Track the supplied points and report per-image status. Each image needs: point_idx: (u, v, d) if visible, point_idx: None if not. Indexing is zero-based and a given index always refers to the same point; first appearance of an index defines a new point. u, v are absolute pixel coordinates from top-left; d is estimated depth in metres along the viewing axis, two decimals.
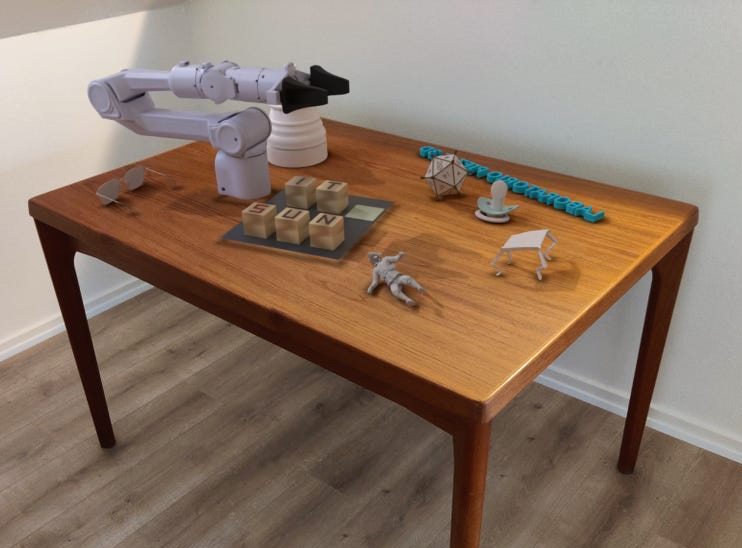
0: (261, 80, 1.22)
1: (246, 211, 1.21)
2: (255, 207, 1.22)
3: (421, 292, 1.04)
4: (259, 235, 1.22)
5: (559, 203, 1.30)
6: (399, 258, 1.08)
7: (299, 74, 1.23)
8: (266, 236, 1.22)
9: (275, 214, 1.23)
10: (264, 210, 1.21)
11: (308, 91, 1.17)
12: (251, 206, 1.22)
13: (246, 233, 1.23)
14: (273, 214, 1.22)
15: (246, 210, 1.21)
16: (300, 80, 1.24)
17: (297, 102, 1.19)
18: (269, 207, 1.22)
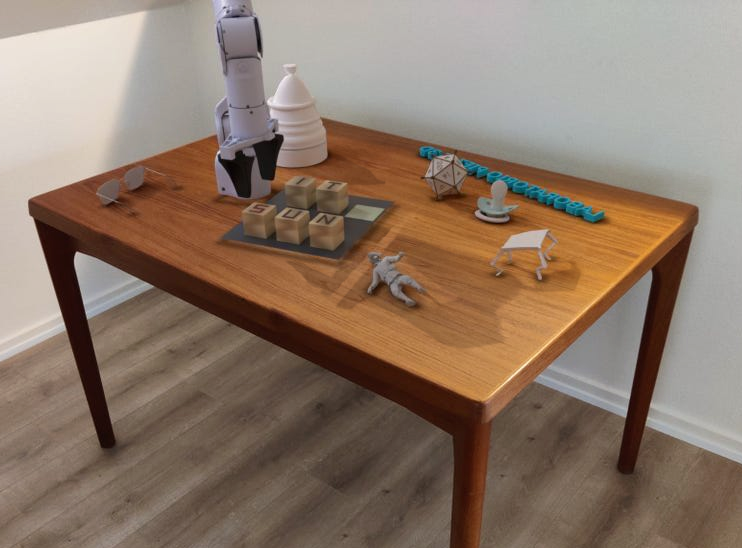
0: (246, 112, 1.10)
1: (246, 211, 1.21)
2: (255, 207, 1.22)
3: (421, 292, 1.04)
4: (259, 235, 1.22)
5: (559, 203, 1.30)
6: (399, 258, 1.08)
7: None
8: (266, 236, 1.22)
9: (275, 214, 1.23)
10: (264, 210, 1.21)
11: (244, 180, 1.14)
12: (251, 206, 1.22)
13: (246, 233, 1.23)
14: (273, 214, 1.22)
15: (246, 210, 1.21)
16: None
17: (232, 165, 1.13)
18: (269, 207, 1.22)
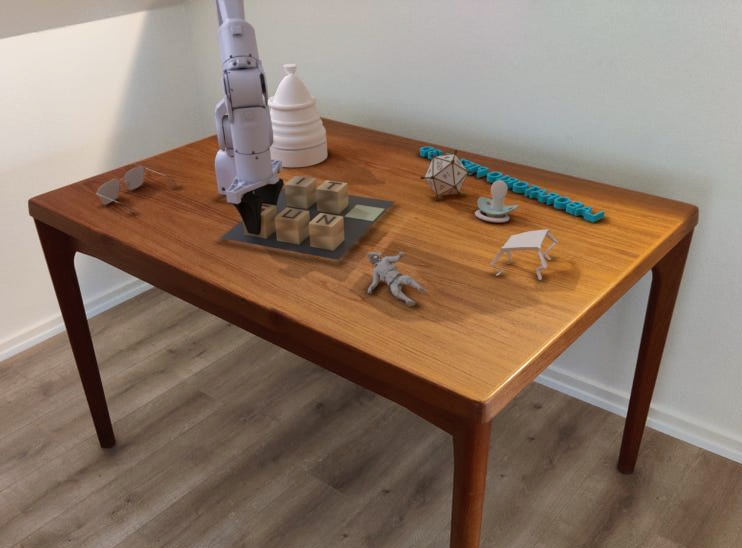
0: (252, 158, 1.14)
1: None
2: None
3: (421, 292, 1.04)
4: (259, 235, 1.22)
5: (559, 203, 1.30)
6: (399, 258, 1.08)
7: None
8: (266, 236, 1.22)
9: (275, 214, 1.23)
10: (264, 210, 1.21)
11: (254, 218, 1.19)
12: None
13: (246, 233, 1.23)
14: (273, 214, 1.22)
15: None
16: None
17: (243, 204, 1.19)
18: (269, 207, 1.22)
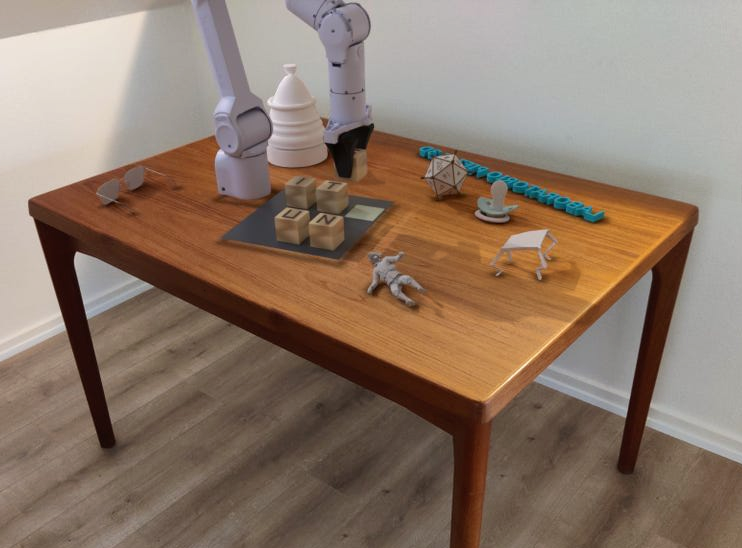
0: (349, 98, 1.14)
1: None
2: None
3: (421, 292, 1.04)
4: (350, 179, 1.22)
5: (559, 203, 1.30)
6: (399, 258, 1.08)
7: None
8: (357, 180, 1.22)
9: (365, 158, 1.23)
10: (355, 154, 1.21)
11: (347, 160, 1.20)
12: None
13: (336, 177, 1.23)
14: (364, 158, 1.23)
15: None
16: None
17: (336, 146, 1.19)
18: (360, 151, 1.22)
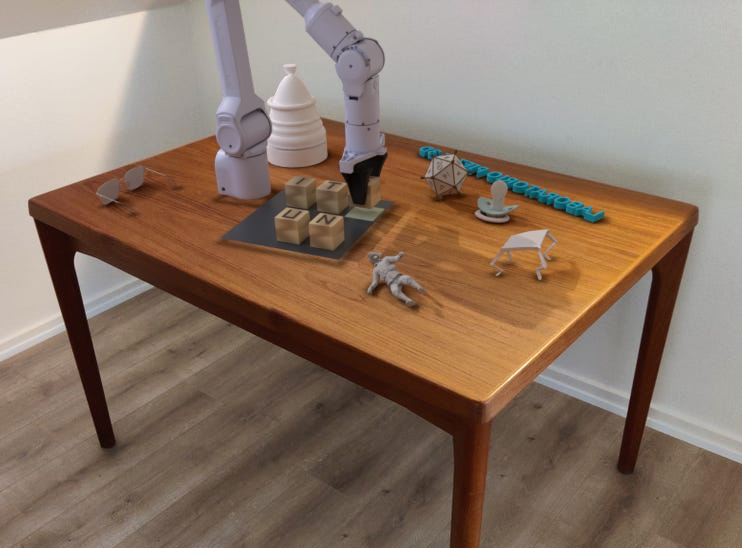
0: (364, 129, 1.18)
1: None
2: None
3: (421, 292, 1.04)
4: (364, 206, 1.26)
5: (559, 203, 1.30)
6: (399, 258, 1.08)
7: None
8: (371, 206, 1.26)
9: (379, 185, 1.27)
10: (369, 182, 1.25)
11: (361, 188, 1.23)
12: None
13: (351, 204, 1.27)
14: (377, 185, 1.26)
15: None
16: None
17: (351, 175, 1.23)
18: (374, 178, 1.26)
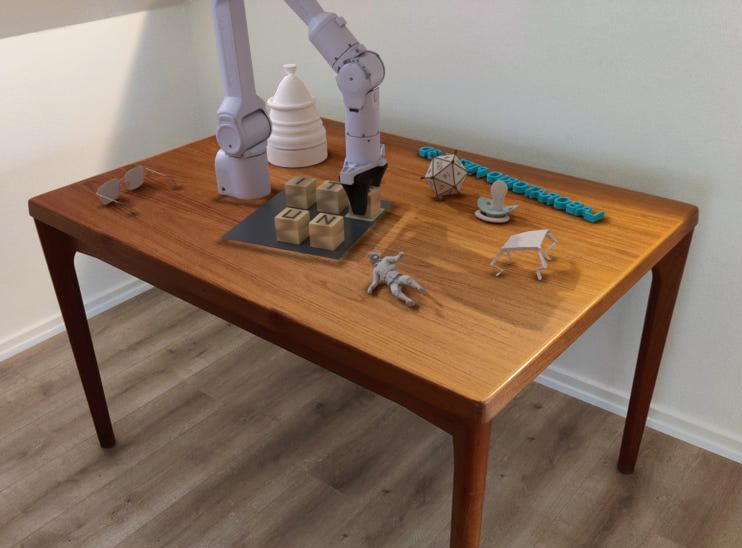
0: (364, 141, 1.19)
1: None
2: None
3: (421, 292, 1.04)
4: (364, 215, 1.27)
5: (559, 203, 1.30)
6: (399, 258, 1.08)
7: None
8: (371, 216, 1.27)
9: (379, 195, 1.28)
10: (369, 192, 1.26)
11: (361, 199, 1.24)
12: None
13: (351, 214, 1.28)
14: (377, 195, 1.27)
15: None
16: None
17: (351, 186, 1.24)
18: (374, 188, 1.27)
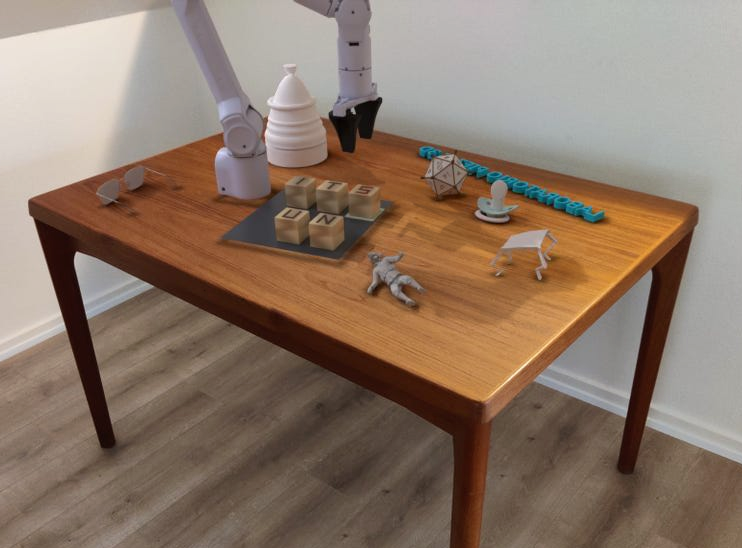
0: (356, 74, 1.24)
1: (353, 192, 1.26)
2: (361, 189, 1.27)
3: (421, 292, 1.04)
4: (364, 215, 1.27)
5: (559, 203, 1.30)
6: (399, 258, 1.08)
7: None
8: (371, 216, 1.27)
9: (379, 195, 1.28)
10: (369, 192, 1.26)
11: (350, 136, 1.28)
12: (356, 188, 1.27)
13: (351, 214, 1.28)
14: (377, 195, 1.27)
15: (352, 191, 1.26)
16: None
17: (340, 123, 1.27)
18: (374, 188, 1.27)
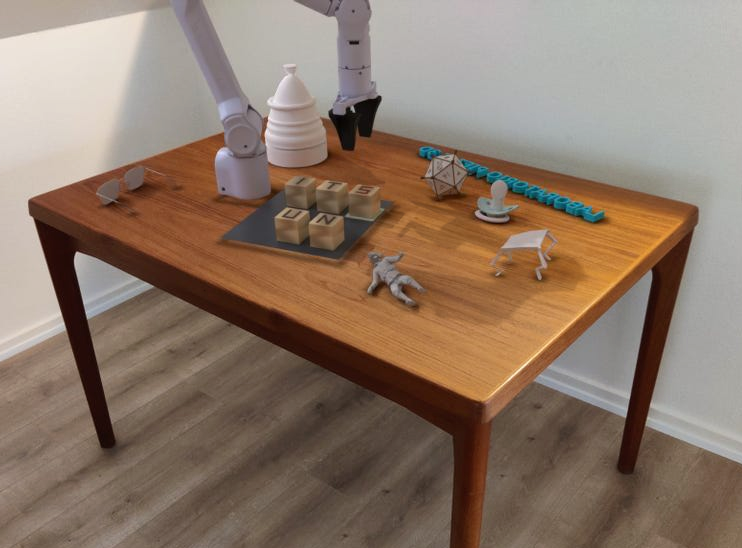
0: (356, 73, 1.24)
1: (353, 192, 1.26)
2: (361, 189, 1.27)
3: (421, 292, 1.04)
4: (364, 215, 1.27)
5: (559, 203, 1.30)
6: (399, 258, 1.08)
7: None
8: (371, 216, 1.27)
9: (379, 195, 1.28)
10: (369, 192, 1.26)
11: (350, 134, 1.29)
12: (356, 188, 1.27)
13: (351, 214, 1.28)
14: (377, 195, 1.27)
15: (352, 191, 1.26)
16: None
17: (340, 121, 1.28)
18: (374, 188, 1.27)
